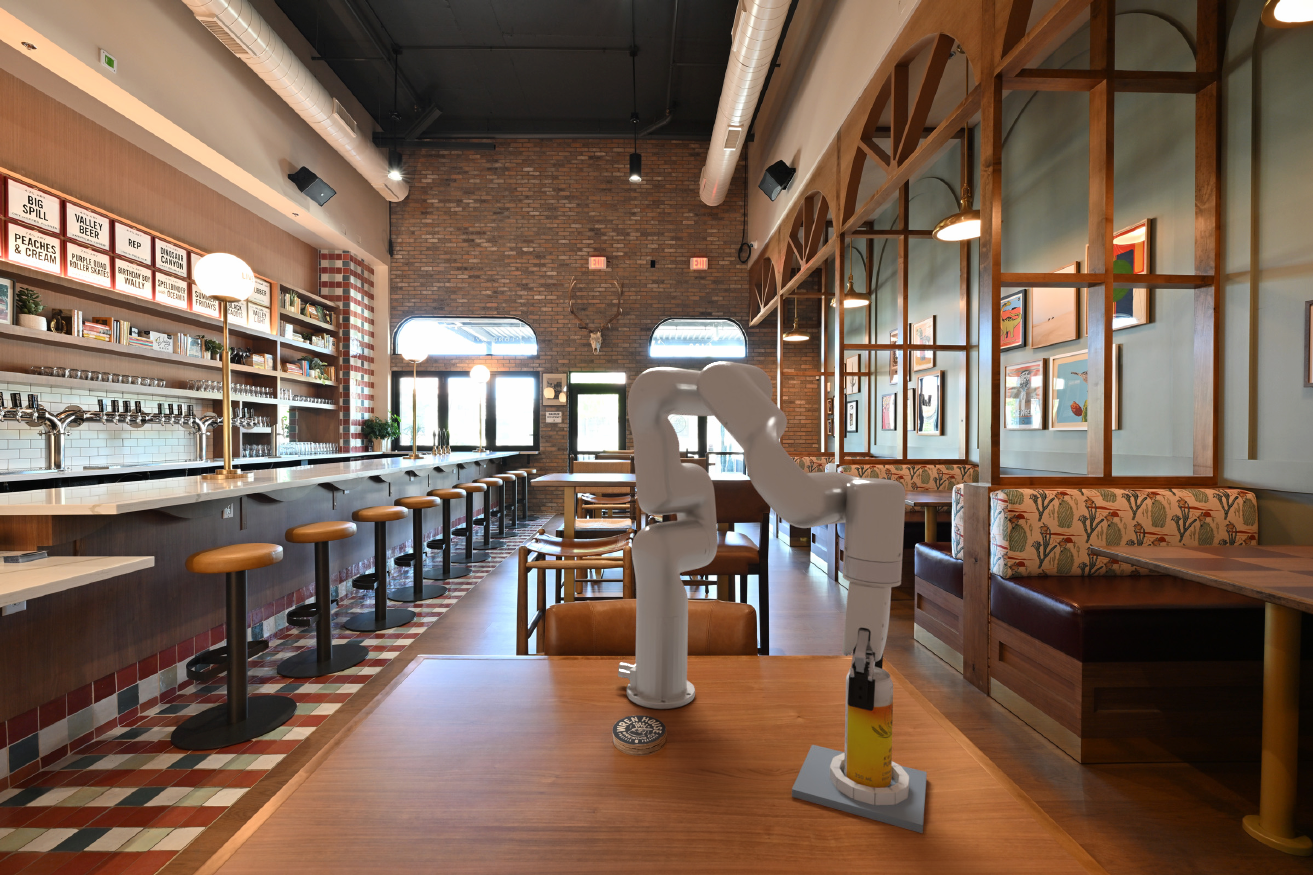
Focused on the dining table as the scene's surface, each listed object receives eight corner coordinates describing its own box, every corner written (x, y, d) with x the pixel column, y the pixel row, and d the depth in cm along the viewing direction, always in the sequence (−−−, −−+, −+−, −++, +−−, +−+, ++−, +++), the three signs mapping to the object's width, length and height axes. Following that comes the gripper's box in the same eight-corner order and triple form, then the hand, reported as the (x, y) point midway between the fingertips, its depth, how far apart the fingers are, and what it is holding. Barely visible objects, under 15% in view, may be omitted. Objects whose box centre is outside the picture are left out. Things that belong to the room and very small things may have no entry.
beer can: (894, 797, 79) (897, 683, 79) (846, 791, 80) (848, 678, 80) (887, 772, 85) (889, 666, 85) (842, 766, 86) (844, 662, 86)
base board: (791, 796, 81) (792, 777, 81) (812, 750, 92) (812, 734, 92) (922, 833, 74) (922, 812, 74) (926, 778, 85) (926, 761, 85)
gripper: (852, 553, 92) (846, 664, 92) (832, 579, 76) (825, 712, 77) (905, 560, 89) (899, 675, 89) (896, 588, 73) (888, 727, 74)
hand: (865, 692), depth 83 cm, fingers open, 9 cm apart
